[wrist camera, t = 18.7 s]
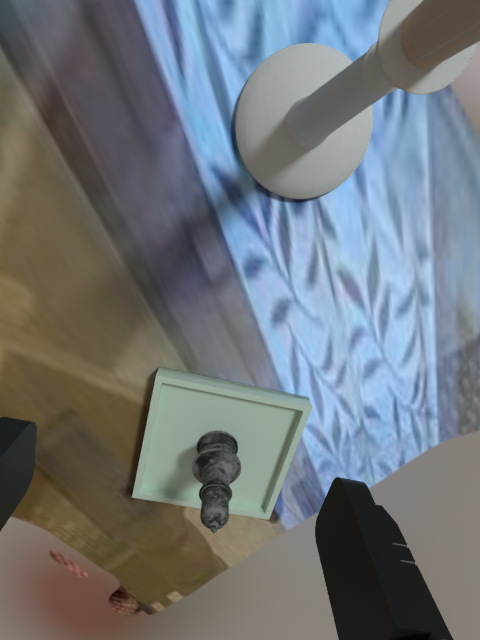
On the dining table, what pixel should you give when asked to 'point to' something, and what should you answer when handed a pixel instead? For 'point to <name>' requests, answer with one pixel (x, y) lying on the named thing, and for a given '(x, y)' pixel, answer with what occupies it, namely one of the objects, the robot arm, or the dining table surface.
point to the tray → (218, 415)
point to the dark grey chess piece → (216, 476)
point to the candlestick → (345, 94)
